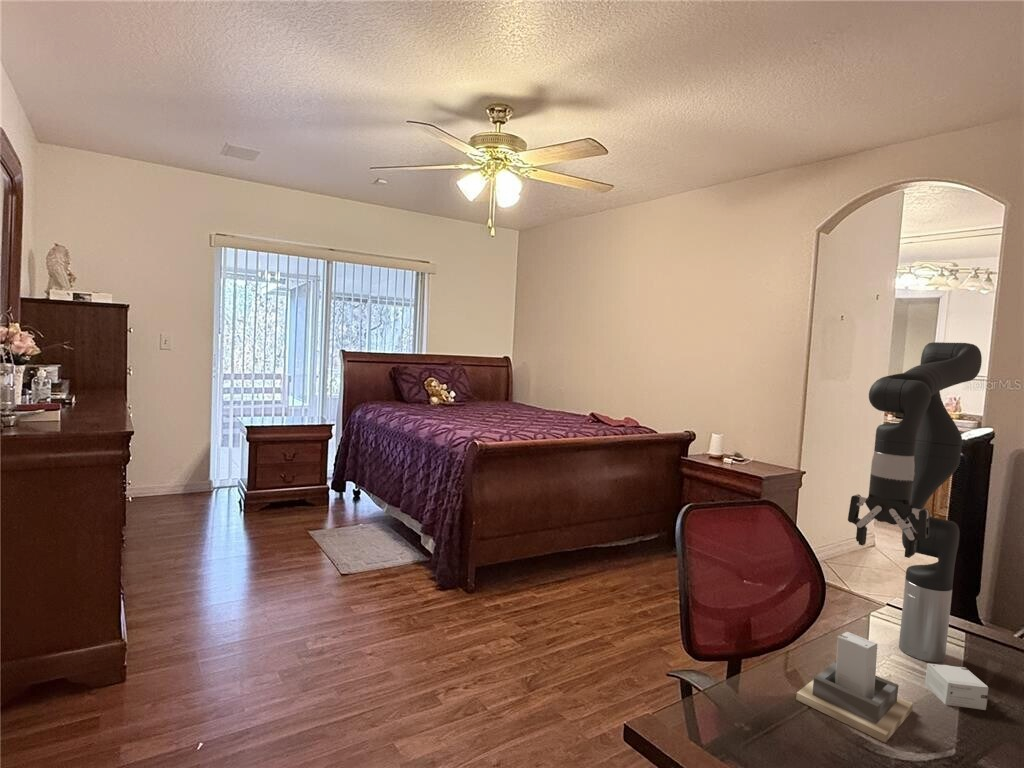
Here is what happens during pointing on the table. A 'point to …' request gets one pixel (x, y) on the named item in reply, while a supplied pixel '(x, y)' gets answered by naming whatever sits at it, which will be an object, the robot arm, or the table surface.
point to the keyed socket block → (857, 704)
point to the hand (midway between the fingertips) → (884, 550)
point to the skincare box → (856, 664)
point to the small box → (956, 686)
